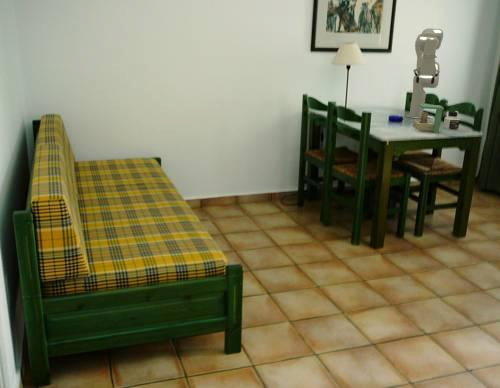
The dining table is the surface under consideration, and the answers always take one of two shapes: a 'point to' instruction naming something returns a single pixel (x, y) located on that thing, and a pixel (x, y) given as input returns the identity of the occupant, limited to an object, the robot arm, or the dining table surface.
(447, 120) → the medicine bottle
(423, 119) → the peg
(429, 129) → the tan shallow oval bowl
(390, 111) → the dining table surface
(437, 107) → the pale green arch
